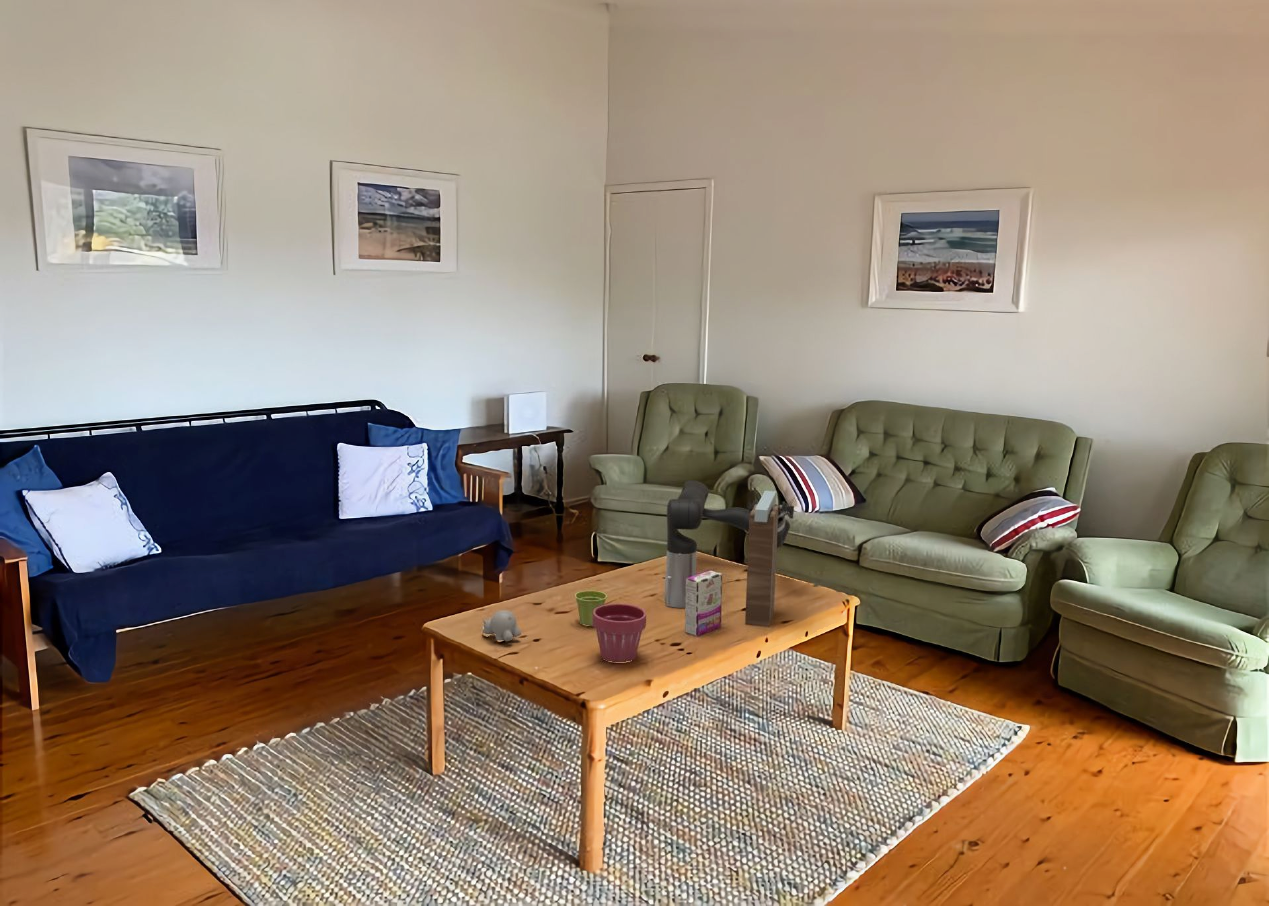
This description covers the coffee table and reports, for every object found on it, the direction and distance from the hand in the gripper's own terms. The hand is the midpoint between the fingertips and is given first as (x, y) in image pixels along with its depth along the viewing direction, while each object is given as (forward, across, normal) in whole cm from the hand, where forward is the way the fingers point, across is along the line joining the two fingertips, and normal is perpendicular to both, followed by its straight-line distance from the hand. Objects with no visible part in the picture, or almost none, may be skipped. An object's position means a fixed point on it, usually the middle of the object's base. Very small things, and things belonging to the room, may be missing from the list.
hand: (769, 503), depth 297 cm
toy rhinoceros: (+31, -68, +55) cm, 93 cm away
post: (-2, 0, +35) cm, 35 cm away
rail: (+11, 0, +6) cm, 12 cm away
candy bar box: (+11, -15, +43) cm, 47 cm away
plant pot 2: (+34, -33, +56) cm, 73 cm away
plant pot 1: (+15, -47, +45) cm, 67 cm away
